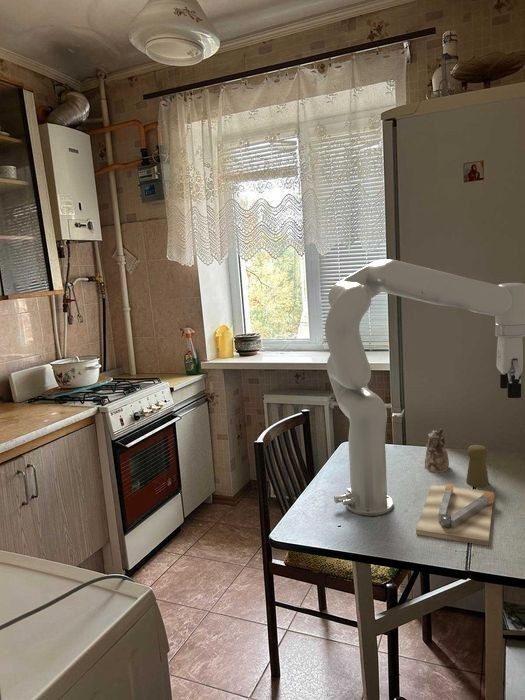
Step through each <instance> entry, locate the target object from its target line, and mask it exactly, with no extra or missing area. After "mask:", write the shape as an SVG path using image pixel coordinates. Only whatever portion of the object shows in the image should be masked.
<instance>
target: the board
mask: <svg viewBox="0 0 525 700" xmlns="http://www.w3.org/2000/svg"><path fill="white" fill-rule="evenodd" d="M445 487H446V485H440V484H433V483H432V484H431V485H430V488H429V491H428V494H427V497H426V499H425V503H424V505H423V508H422V511H421V514H420V517H419V520H418V522H417V526H416V528H415V534H416V535H420V536H426V537H430V538H431V537H432V538H439V539H444V540H450V541H451V540H452V541H457V542H462V543H463V542H464V543H471V544H475V545H476V544H477V545H483V546H489V544H490V535H491V525H492V524H491V523H492V515H493V514H492V513H493V503H494V502H492V503H491V504H489V505H487V506H486V507H484V508H483V509H481V510H480V511H478V512H477V513H476V514H474V515H473V516H471V517H470V518H468V519H467V520H465V521H464V522H462V523H461V524H460V525H458V526H457V527H455V528H452V527H450V528H444V527H442V526H441V522H440V521H438V513H439V509H440V506H441V502H442V499H443V496H444V492H445ZM453 489H454V492H453V496H452V498H451V502H450V506H449V510H448V514H447V516H452V515H454V514H455V513H457V512H458V511H460V510H461V509H463V508H464V507H466V506H467V505H469V504H470V503H472V502H473V501H475V500H476V499H478V498H479V497H481V496H482V495H483V494H485V493H486V492H491V493H494V491H493V490H492V491H489V490H484V489H474V488H473V489H472V488H466V487H459V486H457V487H456V486H453ZM489 547H490V546H489Z"/></svg>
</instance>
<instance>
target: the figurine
mask: <svg viewBox="0 0 525 700" xmlns="http://www.w3.org/2000/svg"><path fill="white" fill-rule="evenodd" d="M443 432H444V430H443V429H442V428H439V430H435V429H434V430H432V431H430V432H429V433H428V434H427V436H428V439H427V444H425V448H426V452H425V458H424V468H425V469H424V470H427V471H429V472H434V473H442V472H446V471H447V470H448V469H449V467H450V459H449V455H448V451H447V448H446V446H445V444H446V441H445V440H446V439H445V437H444V436H443Z"/></svg>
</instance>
